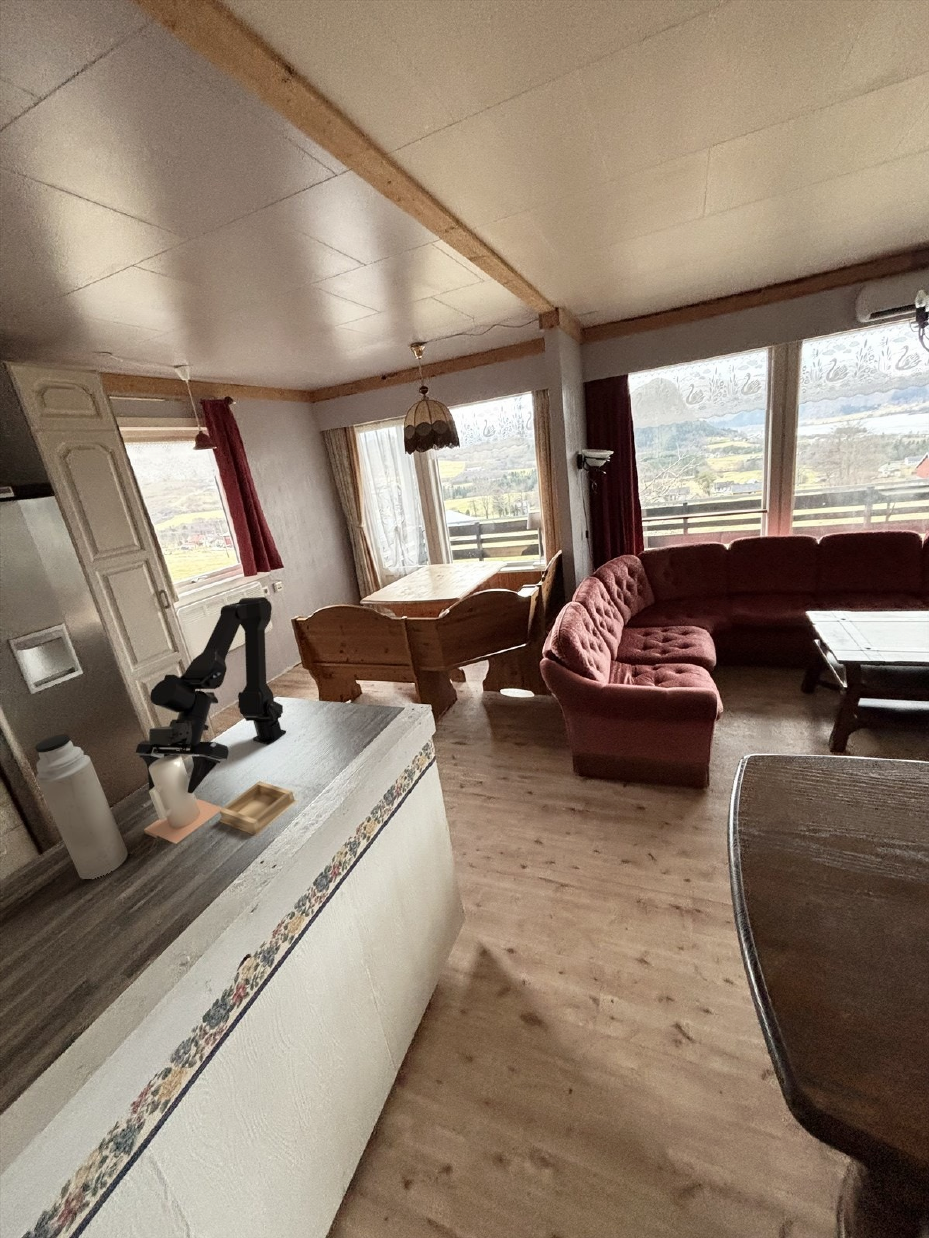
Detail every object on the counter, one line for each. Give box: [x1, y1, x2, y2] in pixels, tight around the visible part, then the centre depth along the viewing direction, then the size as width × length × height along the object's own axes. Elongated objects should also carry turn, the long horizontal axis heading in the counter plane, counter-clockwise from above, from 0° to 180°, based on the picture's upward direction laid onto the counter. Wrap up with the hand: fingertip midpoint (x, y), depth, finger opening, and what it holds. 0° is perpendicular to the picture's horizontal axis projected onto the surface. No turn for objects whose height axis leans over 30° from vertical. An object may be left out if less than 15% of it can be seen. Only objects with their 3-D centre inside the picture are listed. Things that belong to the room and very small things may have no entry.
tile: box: [144, 797, 224, 845], centre depth 106 cm, size 11×11×1 cm
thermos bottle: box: [35, 733, 128, 880], centre depth 93 cm, size 8×8×28 cm
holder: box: [219, 780, 298, 836], centre depth 106 cm, size 11×11×4 cm
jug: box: [148, 754, 200, 828], centre depth 103 cm, size 8×6×14 cm
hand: (170, 792), depth 103 cm, fingers open, 9 cm apart
